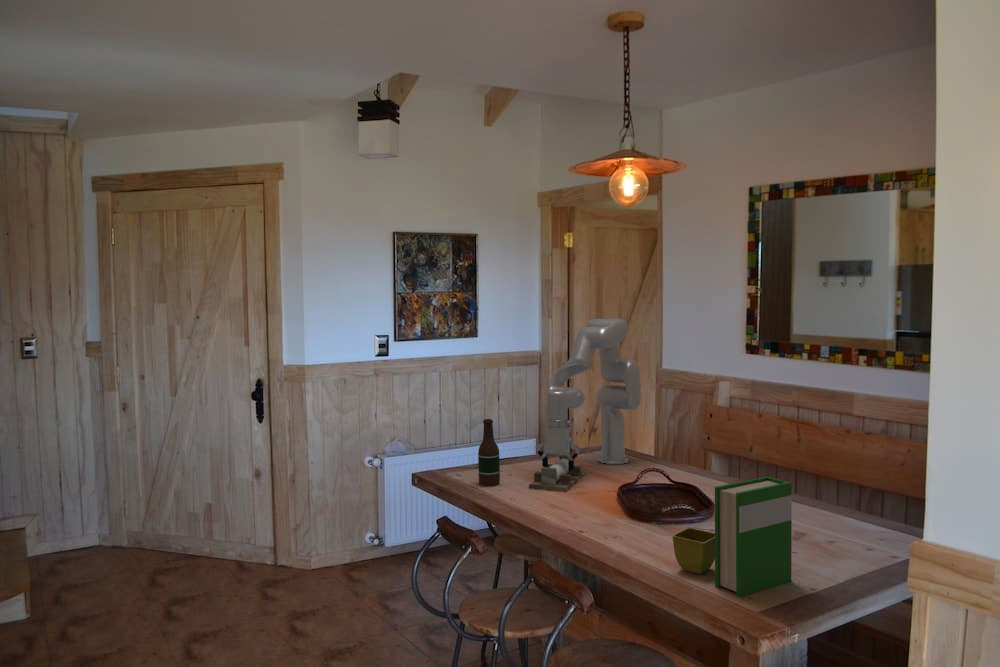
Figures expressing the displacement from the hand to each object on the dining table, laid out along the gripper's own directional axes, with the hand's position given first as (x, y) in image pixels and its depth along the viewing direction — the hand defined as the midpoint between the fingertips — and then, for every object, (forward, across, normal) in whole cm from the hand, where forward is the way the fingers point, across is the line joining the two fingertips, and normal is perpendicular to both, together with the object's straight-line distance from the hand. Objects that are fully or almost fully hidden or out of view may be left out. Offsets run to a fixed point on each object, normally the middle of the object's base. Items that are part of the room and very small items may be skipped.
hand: (558, 469), depth 281 cm
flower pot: (+5, -60, +73) cm, 95 cm away
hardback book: (+5, -74, +78) cm, 108 cm away
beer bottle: (+5, +23, +11) cm, 26 cm away
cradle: (+5, 0, 0) cm, 5 cm away
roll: (+3, 0, 0) cm, 3 cm away
